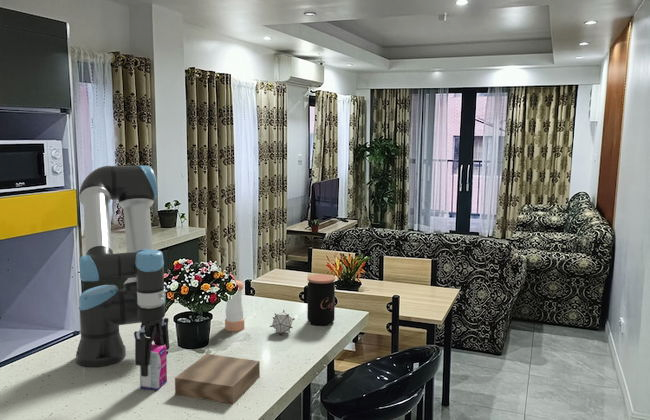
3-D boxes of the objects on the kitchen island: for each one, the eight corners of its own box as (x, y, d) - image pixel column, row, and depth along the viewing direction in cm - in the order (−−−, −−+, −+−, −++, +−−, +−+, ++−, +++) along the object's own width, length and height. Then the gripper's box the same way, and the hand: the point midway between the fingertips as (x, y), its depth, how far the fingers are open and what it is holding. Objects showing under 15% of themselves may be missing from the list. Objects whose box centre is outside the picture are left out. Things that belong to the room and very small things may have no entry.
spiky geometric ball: (278, 343, 204) (262, 325, 200) (282, 328, 211) (267, 310, 208) (298, 335, 201) (282, 316, 197) (301, 320, 208) (286, 301, 205)
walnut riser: (175, 394, 156) (174, 377, 155) (206, 368, 173) (206, 353, 172) (233, 404, 150) (232, 386, 150) (259, 376, 168) (259, 361, 167)
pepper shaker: (248, 328, 209) (247, 279, 206) (231, 332, 204) (230, 282, 201) (238, 323, 214) (237, 275, 212) (221, 327, 210) (220, 278, 207)
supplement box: (158, 390, 158) (157, 352, 156) (139, 388, 159) (138, 350, 157) (168, 381, 163) (166, 345, 162) (149, 379, 165) (148, 343, 163)
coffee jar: (322, 328, 209) (322, 282, 207) (301, 322, 216) (301, 277, 214) (339, 321, 218) (340, 277, 215) (319, 315, 224) (319, 272, 222)
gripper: (142, 316, 148) (145, 397, 151) (180, 296, 166) (182, 369, 169) (118, 313, 150) (122, 393, 153) (158, 294, 168) (161, 366, 171)
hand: (153, 380), depth 161 cm, fingers closed on supplement box, 6 cm apart
